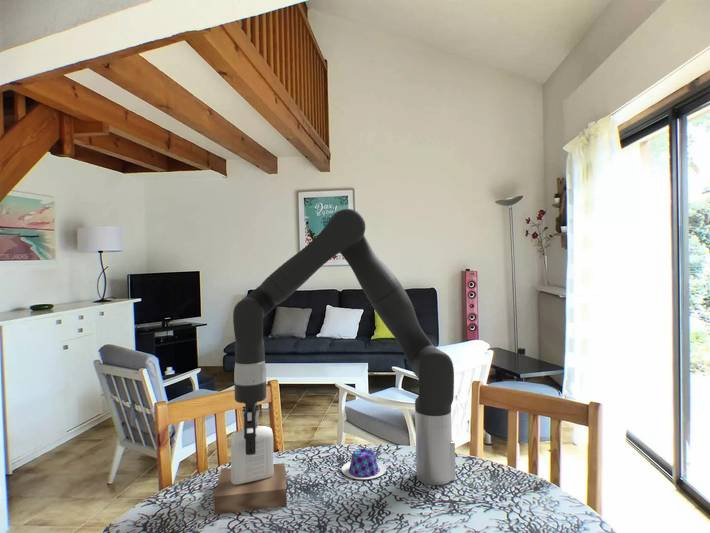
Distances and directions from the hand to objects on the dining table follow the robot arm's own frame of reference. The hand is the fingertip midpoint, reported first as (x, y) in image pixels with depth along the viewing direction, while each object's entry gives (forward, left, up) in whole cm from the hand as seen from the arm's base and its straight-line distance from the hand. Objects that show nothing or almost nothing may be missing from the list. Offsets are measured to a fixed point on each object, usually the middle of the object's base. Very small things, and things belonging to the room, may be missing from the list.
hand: (251, 447), depth 108 cm
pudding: (-29, -7, -12) cm, 32 cm away
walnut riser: (0, 0, -12) cm, 12 cm away
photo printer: (0, 0, -8) cm, 8 cm away
